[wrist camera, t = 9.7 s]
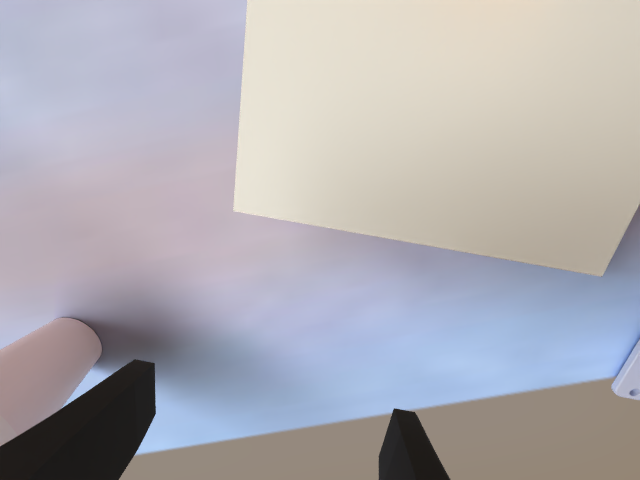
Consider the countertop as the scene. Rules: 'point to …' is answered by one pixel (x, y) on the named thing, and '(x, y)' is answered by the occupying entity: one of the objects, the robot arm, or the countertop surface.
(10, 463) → the robot arm
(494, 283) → the countertop surface
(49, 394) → the smoothie
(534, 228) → the drywall panel
